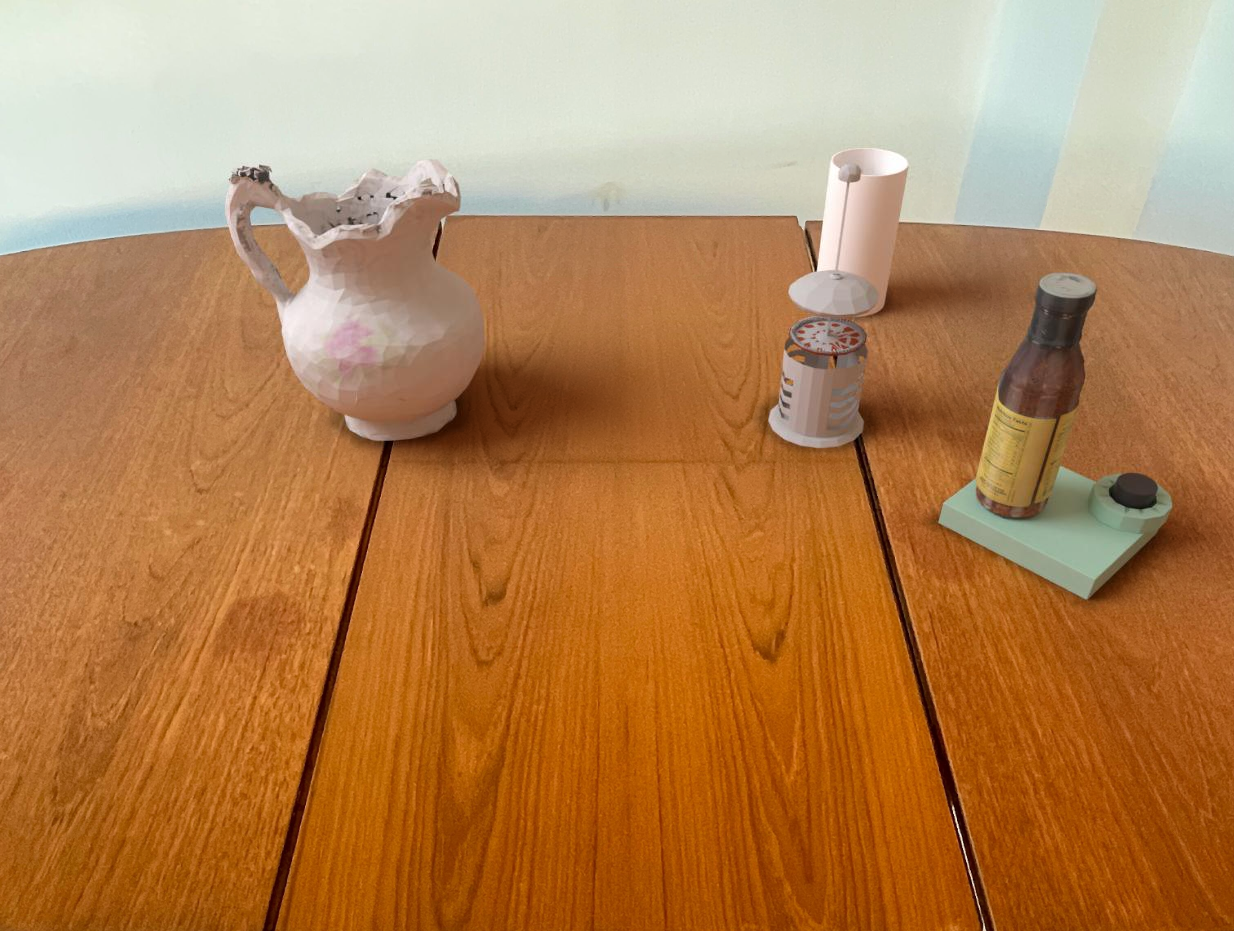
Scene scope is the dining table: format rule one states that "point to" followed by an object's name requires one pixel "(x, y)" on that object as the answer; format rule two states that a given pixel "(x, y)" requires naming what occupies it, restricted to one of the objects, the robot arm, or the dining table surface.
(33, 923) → the dining table surface
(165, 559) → the dining table surface
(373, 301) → the ceramic pitcher
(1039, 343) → the sauce bottle
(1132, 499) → the tare button
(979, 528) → the scale
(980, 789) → the dining table surface
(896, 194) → the white cylinder
